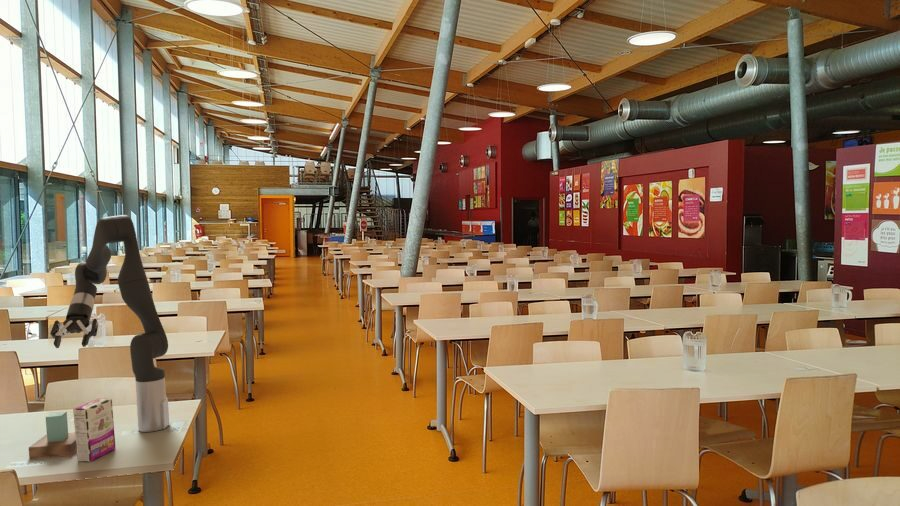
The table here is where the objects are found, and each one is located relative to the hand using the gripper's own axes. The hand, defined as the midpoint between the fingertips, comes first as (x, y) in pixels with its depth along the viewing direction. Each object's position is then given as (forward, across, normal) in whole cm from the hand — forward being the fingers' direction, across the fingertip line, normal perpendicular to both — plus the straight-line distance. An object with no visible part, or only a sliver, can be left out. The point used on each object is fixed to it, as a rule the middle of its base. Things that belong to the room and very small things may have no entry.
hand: (70, 346), depth 228 cm
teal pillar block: (+33, +3, +3) cm, 33 cm away
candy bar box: (+41, +17, 0) cm, 45 cm away
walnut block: (+36, +3, +6) cm, 36 cm away
